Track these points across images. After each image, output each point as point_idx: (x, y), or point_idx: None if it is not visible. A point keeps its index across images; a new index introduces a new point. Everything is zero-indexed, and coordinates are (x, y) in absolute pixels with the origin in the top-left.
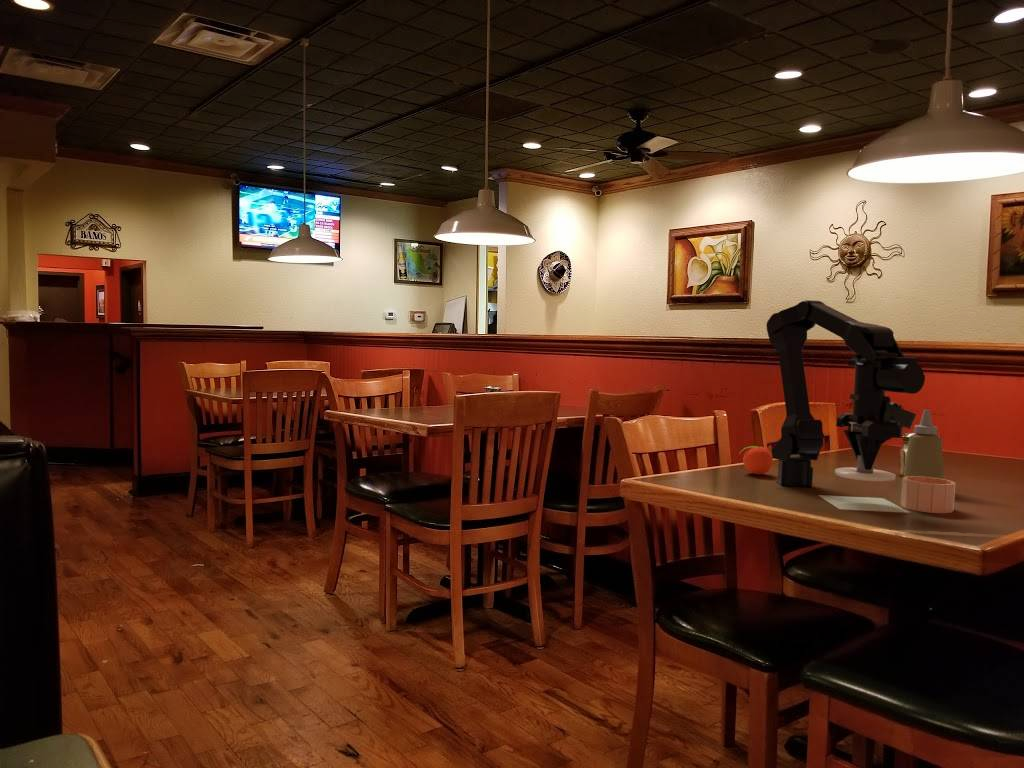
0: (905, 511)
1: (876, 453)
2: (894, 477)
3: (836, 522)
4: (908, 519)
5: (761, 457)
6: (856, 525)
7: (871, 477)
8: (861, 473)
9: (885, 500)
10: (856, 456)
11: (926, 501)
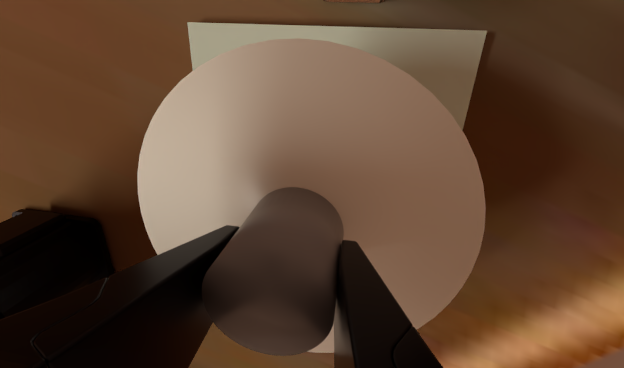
0: (466, 45)
1: (417, 340)
2: (428, 90)
3: (564, 342)
4: (555, 77)
5: None
6: (616, 310)
7: (471, 270)
8: None
9: (235, 33)
10: (210, 323)
11: None
